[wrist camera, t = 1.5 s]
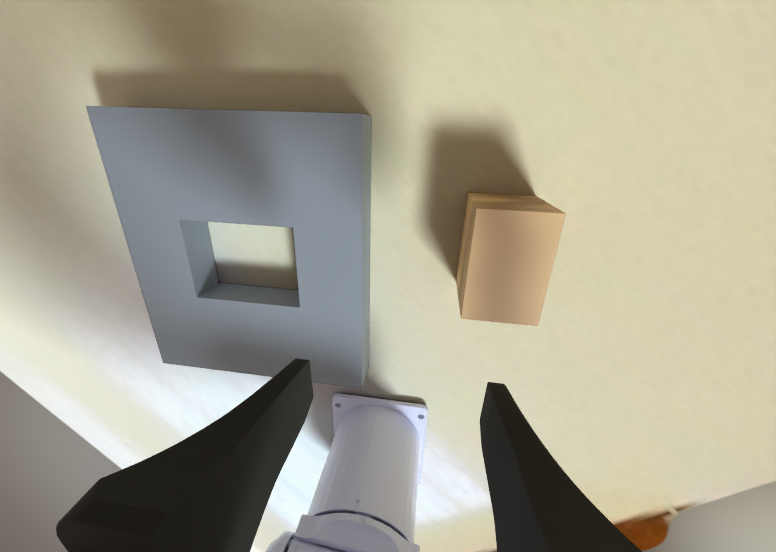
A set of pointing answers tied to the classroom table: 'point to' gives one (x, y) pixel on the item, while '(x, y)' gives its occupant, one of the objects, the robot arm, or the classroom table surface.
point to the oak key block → (506, 257)
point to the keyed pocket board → (254, 207)
